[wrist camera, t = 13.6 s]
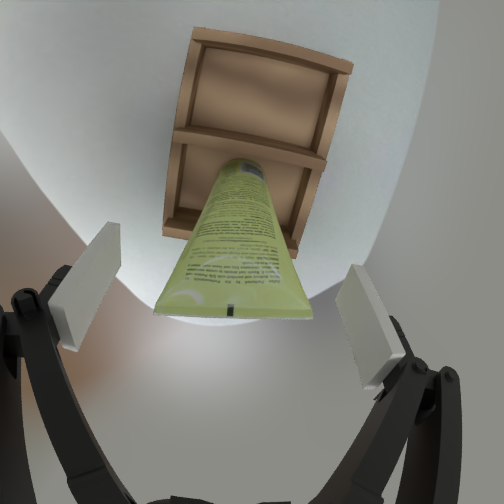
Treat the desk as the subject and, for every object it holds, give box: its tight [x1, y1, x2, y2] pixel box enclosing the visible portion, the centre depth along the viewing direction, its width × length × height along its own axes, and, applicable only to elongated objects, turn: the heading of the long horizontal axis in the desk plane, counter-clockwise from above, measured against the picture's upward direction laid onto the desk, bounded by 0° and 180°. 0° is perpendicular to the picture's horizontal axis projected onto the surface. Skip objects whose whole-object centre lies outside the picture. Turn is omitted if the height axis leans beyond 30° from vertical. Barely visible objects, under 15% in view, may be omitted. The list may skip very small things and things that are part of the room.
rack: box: [162, 27, 354, 259], centre depth 26 cm, size 20×14×6 cm
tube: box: [153, 159, 314, 320], centre depth 21 cm, size 6×5×20 cm
